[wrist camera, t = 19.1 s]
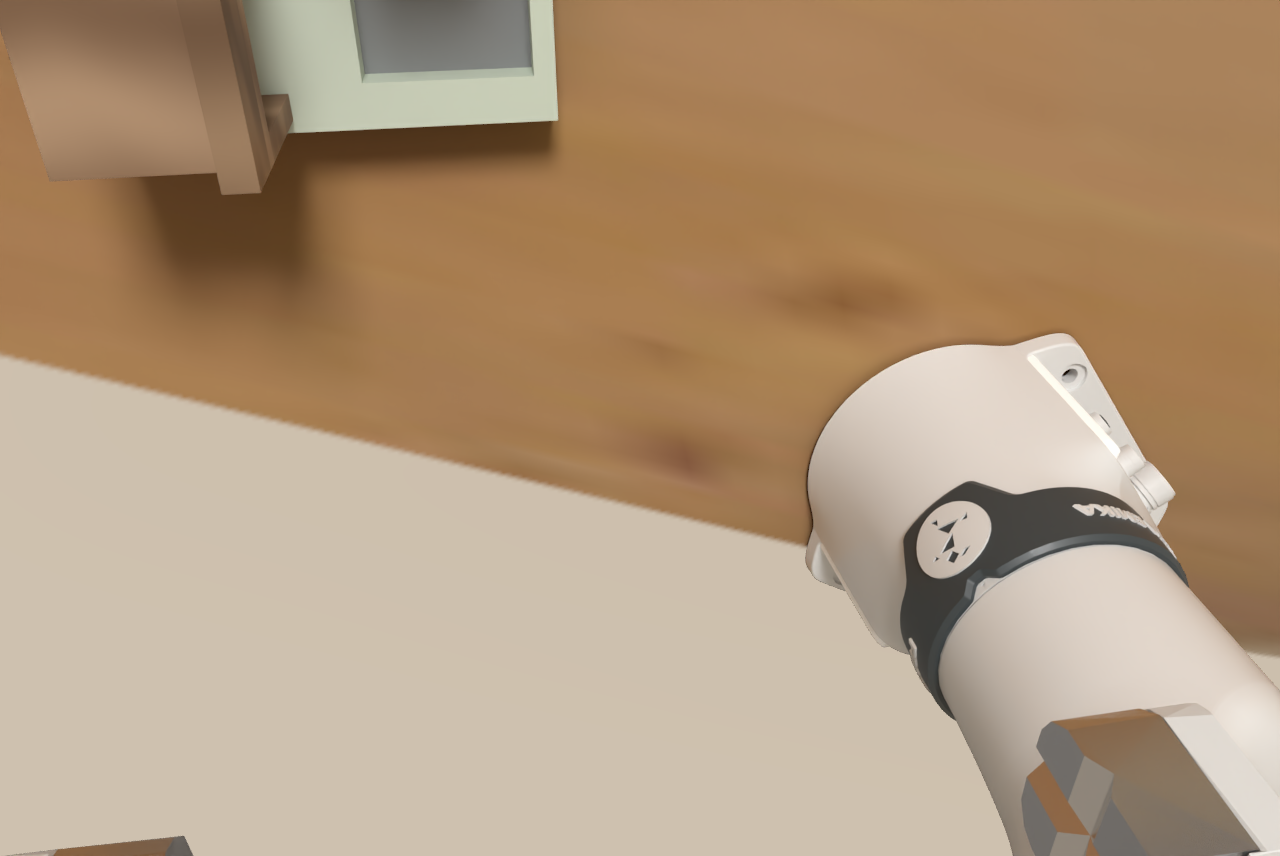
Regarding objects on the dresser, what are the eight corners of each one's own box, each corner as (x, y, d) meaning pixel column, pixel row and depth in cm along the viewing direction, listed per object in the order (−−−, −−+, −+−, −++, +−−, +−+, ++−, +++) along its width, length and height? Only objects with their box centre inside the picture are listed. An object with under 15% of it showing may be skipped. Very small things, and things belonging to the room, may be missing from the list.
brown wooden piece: (293, 120, 39) (260, 192, 33) (99, 129, 38) (26, 205, 32) (242, -150, 34) (192, -129, 28) (19, -147, 33) (-87, -124, 27)
